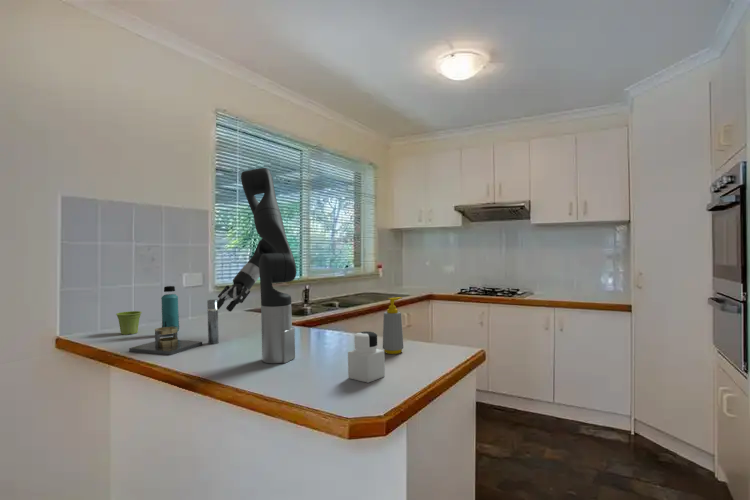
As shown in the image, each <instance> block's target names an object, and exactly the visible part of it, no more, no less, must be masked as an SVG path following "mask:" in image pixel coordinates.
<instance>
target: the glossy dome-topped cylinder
mask: <svg viewBox="0 0 750 500" xmlns="http://www.w3.org/2000/svg"><path fill="white" fill-rule="evenodd" d="M218 300H219V299H207V302H206V304H207V308H206V310H207V344H208V345H217V344H219V342H220V340H219V336H220V335H219V310H218Z"/></svg>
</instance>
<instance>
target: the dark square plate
mask: <svg viewBox="0 0 750 500" xmlns="http://www.w3.org/2000/svg"><path fill="white" fill-rule="evenodd" d="M178 332H179V331H178V327H177V326H174V327H162V326H161V327H158V328H155V329H154V338H155V339H154V341H151V342H147V343H143V344H140V345H136V346H133V347H128V352H129V353H141V354H142V353H143V354H149V355H150V354H152V355H164V356H173V355H176V354H178V353H182V352H185V351H188V350H192V349H194V348H197V347H201V346H203V341H197V340H182V339H181V340H180V339H179V338H178ZM171 334H172V336H167V337H161V336H162V335H164V336H165V335H171ZM160 335H161V336H160Z"/></svg>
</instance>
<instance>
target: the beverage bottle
mask: <svg viewBox="0 0 750 500" xmlns="http://www.w3.org/2000/svg"><path fill="white" fill-rule="evenodd" d="M175 288H176V287H175V286H174V285H167V286H164V287H163V292H164V293H167V292H168V294H163V295H162V296H161V298H160V299H161V327H174V326H177V327H178V332H179V330H180V318H179V317H180V313H179V296H178V295H177V294H175V293H171V292H176V289H175Z"/></svg>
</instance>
